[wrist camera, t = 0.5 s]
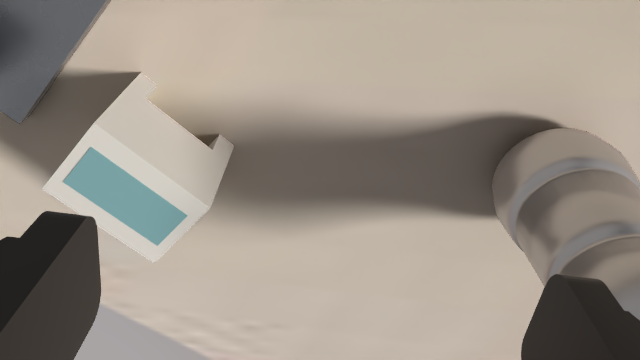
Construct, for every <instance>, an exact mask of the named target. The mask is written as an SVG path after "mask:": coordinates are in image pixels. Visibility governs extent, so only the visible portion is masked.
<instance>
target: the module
mask: <svg viewBox="0 0 640 360" xmlns="http://www.w3.org/2000/svg"><path fill="white" fill-rule="evenodd" d="M156 87H157V84H156V83H154V82H153V81H152V80H151V79H149V78H148V77H147V76H146V75H144V74H143V73H142V72H141V73H140V74H139V75H138V76H137V77H136V78H135V79H134V80H133V81H132V82H131V84H130V85H129V86H128V87H127V88H126V89H125V90H124V91H123V92H122V93H121V94H120V95H119V96H118V98H117V99H116V100H115V101H114V102H113V103H112V104H111V105H110V106H109V107H108V108H107V109H106V110H105V111H104V113H103V114H102V115H101V116H100V117H99V118H98V119H97V120H96V121H95V122H94V123H93V125H92V126H91V127H90V128H89V130H88V131H87V132H86V134H85V135H84V136H83V137H82V139H81V140H80V141H79V142H78V144H77V145H76V146H75V148H74V149H73V150H72V151H71V153H70V154H69V155H68V156H67V158H66V159H65V160H64V162H63V163H62V164H61V165H60V167H59V168H58V169H57V170H56V172H55V173H54V174H53V176H52V177H51V178H50V179H49V181H48V182H47V183H46V184H45V186H44V187H43V188H42V190H44V191H45V192H47V193H48V194H50V195H51V196H53V197H54V198H56V199H57V200H59V201H60V202H62V203H63V204H65V205H66V206H68V207H69V208H71V209H72V210H74V211H75V212H77V213H78V214H80V215H84V216H92V217H93V218H94V219H95V221H96V225H97V226H98V227H100V228H101V229H103V230H104V231H106V232H107V233H109V234H110V235H112V236H113V237H115V238H116V239H118V240H119V241H121V242H122V243H124V244H125V245H127V246H128V247H130V248H131V249H133V250H134V251H136V252H137V253H139V254H140V255H142V256H143V257H145V258H146V259H148V260H149V261H151V262H152V263H155V262H156V261H157V260H158V259H159V258H160V257H161V256H162V255H163V254H164V253H165V252H166V251H167V250H168V249H169V248H170V247H172V246H173V245H174V244H175V243H176V242H177V241H178V240H179V239H180V238H181V237H182V236H183V235H184V234H185V233H186V232H187V231H188V230H189V229H190V228H191V227H192V226H193V225H194V224H195V223H196V222H197V221H198V220H199V219H200V218H201V217H202V216H203V215H204V214H205V213H206V212H207V211H208V210H209V209H210V208H211V205H212V203H213V200H214V198H215V195H216V192H217V190H218V187H219V185H220V182H221V179H222V177H223V174H224V172H225V169H226V166H227V164H228V161H229V158H230V156H231V153H232V151H233V148H234V145H233V144H231V143H230V142H229V141H228V140H226V139H225V138H224V137H223V136H221V135H220V134H219V135H218V137H217V138H216V139H215V140H214V141H213V142H212V143H211V144H210V145H209V146H207V145H205V144H204V143H203V142H202V141H200V140H199V139H198V138H196V137H195V136H194V135H193V134H191V133H190V132H189V131H187V130H186V129H185V128H183V127H182V126H181V125H180V124H178V123H177V122H176V121H174V120H173V119H172V118H171V117H169V116H168V115H167V114H165V113H164V112H163V111H162V110H160V109H159V108H158V107H156V106H155V105H154V104H153V103H151V102H150V101H149V100H147V98H148V96H149V95H150V94H151V93H152V91H153V90H154V89H155V88H156Z"/></svg>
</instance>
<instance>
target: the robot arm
mask: <svg viewBox="0 0 640 360" xmlns="http://www.w3.org/2000/svg"><path fill="white" fill-rule="evenodd" d="M100 296H101V280H100V264H99V249H98V233H97V225H96V221H95V219H94V218H93V217H92V216H84V215H76V214H67V213H59V212H51V211H46V212H44V213H42V214H41V215H40V216H39V217H38V218H37V219H36V220H35V222H34V223H33V224H32V225H31V226H30V227H29V228H28V229H27V230H26V232H25V233H24V234H23V235H22V236H21V237H20V238H16V237H5V238H4V239H2V240H0V360H74V358H75V356H76V354H77V352H78V350H79V349H80V347H81V345H82V343H83V341H84V339H85V337H86V336H87V334H88V332H89V330H90V328H91V326H92V325H93V322H94V320H95V317H96V315H97V311H98V308H99V303H100ZM521 360H640V320H638V319H637V318H636V317H635V316H634V315H632V314H631V313H630V312H629V311H624V310H623V308H622V307H621V305H620V304H619V303H618V301H617V300H616V298H615V297H614V296H613V294H612V293H611V291H610V290H609V288H608V287H607V286H606V284H605V283H604V282H603V281H601V280H599V279H594V278H586V277H577V276H569V275H561V274H555V275H553V276H551V277H550V278H549V280H548V281H547V283H546V285H545V288H544V290H543V293H542V295H541V297H540V300H539V302H538V305H537V307H536V309H535V312H534V314H533V317H532V319H531V321H530V324H529V326H528V329H527V331H526V333H525V336H524V339H523V343H522V350H521Z"/></svg>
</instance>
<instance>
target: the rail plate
mask: <svg viewBox="0 0 640 360" xmlns="http://www.w3.org/2000/svg"><path fill="white" fill-rule="evenodd" d="M110 1H111V0H0V111H2V112H3V113H5V114H6V115H7V116H9V117H10V118H12V119H13V120H15V121H16V122H18V123H19V124H20V123H22V122H23V121H24V120H25V119H26V118H28V117H29V116H30V114H31V113H32V112H33V110H34V109H35V107H36V106H37V104H38V103H39V102H40V100H41V99H42V97H43V96H44V95H45V93H46V92H47V90H48V89H49V87H50V86H51V85H52V83H53V82H54V80H55V79H56V78H57V76H58V75H59V73H60V72H61V70H62V69H63V68H64V66H65V65H66V63H67V62H68V61H69V59H70V58H71V56H72V55H73V53H74V52H75V51H76V49H77V48H78V46H79V45H80V44H81V42H82V41H83V39H84V38H85V37H86V35H87V34H88V32H89V31H90V29H91V28H92V27H93V25H94V24H95V22H96V21H97V20H98V18H99V17H100V15H101V14H102V12H103V11H104V10H105V8H106V7H107V5H108V4H109V3H110Z"/></svg>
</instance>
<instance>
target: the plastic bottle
mask: <svg viewBox="0 0 640 360" xmlns="http://www.w3.org/2000/svg"><path fill="white" fill-rule="evenodd" d="M492 186H493V198H494V207H495V210H496V214H497V217H498V219H499V220H500V222H501V224H502V225H503V227H504V228H505V230H506V231H507V233H508V234H509V236H510V237H511V238H512V240H513V241H514V242H515V243H516V244H517V246H518V247H519V248H520V249H521V250H522V251H523V252H524V253H525V255H526V257H527V258H528V260H529V262H530V263H531V265H532V267H533V268H534V270H535V272H536V273H537V275H538V277H539V278H540V280H541V282H542V283H543V285H544V287H545V285H546V283H547V281H548V280H549V278H550V277H551V276H553V275H555V274H561V275H569V276H577V277H586V278H594V279H599V280H601V281H603V282H604V283H605V284H606V286H607V287H608V288H609V290H610V291H611V293H612V294H613V296H614V297H615V298H616V300H617V301H618V303H619V304H620V305H621V307H622V308H623V310H624V311H629V312H630V313H631V314H632V315H634V316H635V317H636V318H637V319H638V320H640V182H639V180H638V178H637V176H636V174H635V172H634V171H633V169H632V167H631V166H630V164H629V162H628V161H627V160H626V158H625V157H624V156H623V155H622V153H621V152H619V151H618V150H617V149H615V148H614V147H613V146H611V145H610V144H608V143H607V142H605V141H604V140H602V139H601V138H599V137H597V136H595V135H593V134H591V133H589V132H587V131H583V130H578V129H572V128H558V129H550V130H546V131H542V132H539V133H536V134H533V135H531V136H529V137H527V138H525V139H523V140H522V141H520V142H519V143H517V144H516V145H514V146H513V147H512V148H511V149H510V150H509V151H508V152H507V153H506V154H505V155H504V157H503V158H502V160H501V161H500V162H499V164H498V166H497V168H496V171H495V173H494V177H493V182H492Z"/></svg>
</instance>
